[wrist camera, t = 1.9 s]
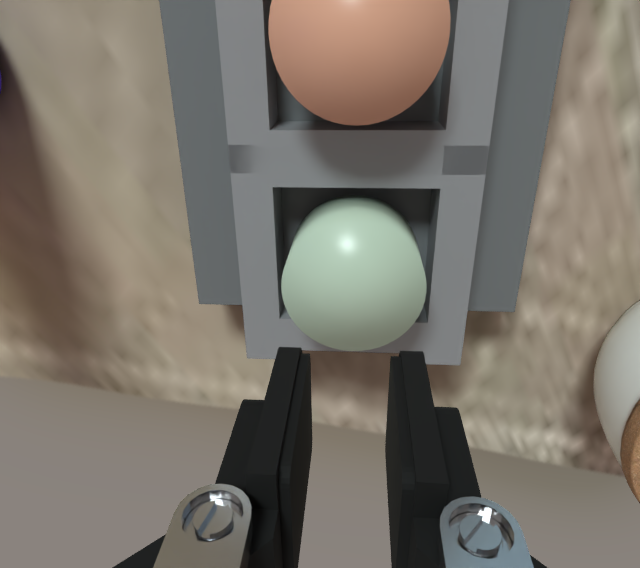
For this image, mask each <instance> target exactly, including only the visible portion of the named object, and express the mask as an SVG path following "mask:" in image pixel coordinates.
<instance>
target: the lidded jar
mask: <svg viewBox="0 0 640 568" xmlns="http://www.w3.org/2000/svg"><path fill="white" fill-rule="evenodd" d="M594 398H595V404H596V408H597V413H598V417H599V420H600V423H601V425H602V428H603V430H604V433H605V435H606V438H607V440H608V443H609V445H610V448H611V449H612V451H613V453H614V455H615V457H616V459H617V461H618V462H619V464H620V466H621V467H622V470H623V472H624V475H625V477H626V480H627V482H628V485H629V487H630V488H631V490H632V492H633V494H634V495H635V497H636V498H637V500H638V501H639V503H640V300H639V301H638V302H636V303H635V304H634V305H632V306H631V307H630V308H629V309H628V310H627V311H626V312H625V313H624V314H623V315H622V316H621V317H620V318H619V320H618V321H617V323H616V324H615V325H614V326H613V327H612V329H611V330H610V332H609V333H608V335H607V336H606V338H605V340H604V342H603V344H602V346H601V349H600V351H599V354H598V357H597V361H596V365H595V369H594Z"/></svg>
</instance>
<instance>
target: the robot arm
mask: <svg viewBox="0 0 640 568" xmlns="http://www.w3.org/2000/svg"><path fill="white" fill-rule="evenodd" d="M385 447H386V448H385V452H386V471H387V489H388V507H389V525H390V541H391V542H390V544H391V562H392V568H547V567H546V566H544V565H543V564H541V563H540V562H539V561H538V560H536V559H535V558H534V557H532V556H531V555H530V554H529V551H528V548H527V545H526V541H525V538H524V535H523V532H522V530H521V528H520V526H519V524H518V522H517V521H516V519H515V518H514V517H513V516H512V515H511V514H510V512H508V511H507V510H506V509H504V508H503V507H502V506H500V505H499V504H497V503H495V502H492V501H490V500H488V499H485V498H481V494H480V490H479V486H478V482H477V478H476V474H475V471H474V467H473V463H472V459H471V455H470V451H469V447H468V443H467V439H466V436H465V432H464V428H463V424H462V420H461V416H460V413H459V410H458V409H457V408H451V407H434V404H433V399H432V393H431V388H430V383H429V378H428V373H427V368H426V362H425V357H424V353H423V351H400V353H399V357H397V356H391V361H390V377H389V393H388V410H387V427H386V446H385ZM311 453H312V409H311V367H310V354H303V353H302V348H301V347H279V348H278V351H277V355H276V359H275V362H274V366H273V370H272V374H271V377H270V381H269V385H268V389H267V393H266V396H265V400H246V399H244V400H243V401H242V404H241V406H240V409H239V412H238V415H237V418H236V421H235V424H234V427H233V430H232V434H231V437H230V440H229V443H228V446H227V449H226V452H225V455H224V458H223V461H222V464H221V467H220V471H219V474H218V477H217V480H216V483H215V484H210V485H207V486H204V487H201V488H198V489H197V490H195V491H194V492H192V493H190V494H188V495H187V496H186V497H185V498H184V499H183V500H182V501H181V502H180V504H179V505H178V507H177V509H176V511H175V512H174V515H173V518H172V520H171V523H170V525H169V528H168V530H167V533H166V535H164V536H162V537H161V538H159V539H158V540H156V541H154V542H153V543H151V544H150V545H148V546H146V547H145V548H143V549H142V550H140V551H138V552H137V553H135V554H134V555H132V556H130V557H129V558H127V559H126V560H124V561H123V562H121V563H119V564H118V565H116V566H115V567H113V568H298V560H299V553H300V544H301V536H302V528H303V519H304V511H305V502H306V494H307V486H308V478H309V469H310V461H311Z"/></svg>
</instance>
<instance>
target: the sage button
mask: <svg viewBox="0 0 640 568" xmlns="http://www.w3.org/2000/svg"><path fill="white" fill-rule="evenodd" d="M426 285H427V283H426V276H425V272H424V268H423V264H422V260H421V256H420V253H419V249H418V245H417V241H416V238H415V234H414V232H413V230H412V228H411V226H410V225H409V223H408V221H407V220H406V219H405V218H404V216H403V215H402V214H401V213H400V212H398V211H397V210H396V209H395V208H394V207H392V206H391V205H389V204H387V203H385V202H383V201H381V200H378V199H376V198H373V197H368V196H360V195H349V196H342V197H337V198H334V199H331V200H329V201H326V202H324V203H322V204H321V205H319V206H318V207H316V208H315V209H314V210H312V211H311V212H310V213H309V214H308V215H307V216H306V217H305V218H304V220H303V221H302V223H301V224H300V225H299V227H298V229H297V231H296V234H295V237H294V240H293V243H292V246H291V249H290V252H289V255H288V258H287V261H286V264H285V267H284V270H283V275H282V282H281V290H282V298H283V301H284V305H285V307H286V310H287V312H288V314H289V316H290V317H291V319H292V320H293V322H294V323H295V324H296V326H297V327H298V328H299V329H300V330H301V331H302V332H303V333H305V334H306V335H307V336H309V337H310V338H311V339H313V340H315V341H316V342H318V343H320V344H323V345H325V346H328V347H331V348H334V349H339V350H345V351H364V350H371V349H375V348H379V347H381V346H384V345H387V344H389V343H390V342H392V341H394V340H396V339H397V338H399V337H400V336H402V335H403V334H404V333H405V332H406V331H407V330H409V328H410V327H411V326H412V325H413V324H414V323H415V321H416V320H417V318H418V317H419V315H420V313H421V310H422V308H423V305H424V302H425V297H426Z"/></svg>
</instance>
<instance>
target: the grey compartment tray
mask: <svg viewBox="0 0 640 568" xmlns="http://www.w3.org/2000/svg"><path fill="white" fill-rule="evenodd" d="M570 1H571V0H449V5H450V16H451V20H450V35H449V42H448V46H447V50H446V54H445V57H444V60H443V62H442V65H441V67H440V69H439V71H438V73H437V75H436V77H435V79H434V80H433V82H432V83H431V85H430V86H429V87H428V89H427V90H426V91H425V93H424V94H423V95H422V96H421V97H420V98H419V99H418V100H417V101H416V102H415V103H414V104H412V105H411V106H410V107H409V108H407V109H406V110H404V111H403V112H401V113H400V114H398V115H396V116H394V117H392V118H390V119H388V120H385V121H382V122H379V123H374V124H369V125H359V126H354V125H343V124H339V123H334V122H331V121H328V120H326V119H323V118H321V117H319V116H317V115H315V114H314V113H312V112H311V111H309V110H308V109H306V108H305V107H304V106H303V105H302V104H301V103H299V102H298V101H297V100H296V99H295V97H294V96H293V95H292V94H291V93H290V92H289V90H288V89H287V87H286V86H285V84H284V83H283V81H282V79H281V77H280V75H279V73H278V71H277V69H276V66H275V63H274V61H273V57H272V53H271V49H270V42H269V13H270V6H271V2H272V0H159V2H160V10H161V18H162V25H163V33H164V40H165V48H166V55H167V63H168V71H169V78H170V86H171V93H172V101H173V109H174V116H175V124H176V131H177V139H178V146H179V154H180V162H181V169H182V177H183V184H184V192H185V200H186V207H187V215H188V222H189V230H190V238H191V245H192V253H193V260H194V268H195V275H196V283H197V291H198V298H199V304H223V305H242V307H243V318H244V329H245V341H246V352H247V358H255V359H276V355H277V351H278V348H279V347H301V348H302V350H311V351H342V352H374V353H400V351H423V353H424V357H425V362H426V364H436V365H460V363H461V356H462V348H463V341H464V333H465V326H466V318H467V311H497V312H515V306H516V301H517V295H518V289H519V284H520V278H521V273H522V267H523V262H524V256H525V251H526V245H527V239H528V234H529V228H530V223H531V217H532V212H533V206H534V201H535V195H536V190H537V184H538V178H539V173H540V167H541V162H542V156H543V151H544V145H545V140H546V134H547V129H548V123H549V117H550V112H551V106H552V101H553V95H554V90H555V84H556V79H557V73H558V67H559V62H560V56H561V51H562V45H563V40H564V34H565V29H566V23H567V18H568V12H569V6H570ZM349 195H360V196H368V197H373V198H376V199H378V200H381V201H383V202H385V203H387V204H389V205H391V206H392V207H394V208H395V209H396V210H397V211H398V212H400V213H401V214H402V215H403V216H404V218H405V219H406V220H407V221H408V223H409V225H410V226H411V228H412V230H413V232H414V234H415V238H416V241H417V245H418V249H419V253H420V256H421V260H422V264H423V268H424V272H425V276H426V283H427V285H426V297H425V302H424V305H423V308H422V310H421V313H420V315H419V317H418V318H417V320H416V321H415V323H414V324H413V325H412V326H411V327H410V328H409V330H407V331H406V332H405V333H404V334H403V335H402V336H400V337H399V338H397V339H396V340H394V341H392V342H390V343H389V344H387V345H384V346H381V347H379V348H375V349H371V350H364V351H345V350H339V349H334V348H331V347H328V346H325V345H323V344H320V343H318V342H316V341H315V340H313V339H311V338H310V337H309V336H307V335H306V334H305V333H303V332H302V331H301V330H300V329H299V328H298V327H297V326H296V324H295V323H294V322H293V320H292V319H291V317H290V316H289V314H288V312H287V310H286V307H285V305H284V301H283V298H282V290H281V282H282V275H283V270H284V267H285V264H286V261H287V258H288V255H289V252H290V249H291V246H292V243H293V240H294V237H295V234H296V231H297V229H298V227H299V225H300V224H301V223H302V221H303V220H304V218H305V217H306V216H307V215H308V214H309V213H310V212H311V211H312V210H314V209H315V208H316V207H318V206H319V205H321V204H322V203H324V202H326V201H329V200H331V199H334V198H337V197H342V196H349Z"/></svg>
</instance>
